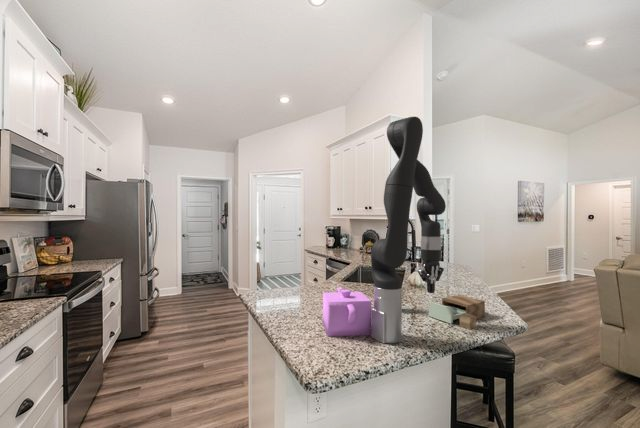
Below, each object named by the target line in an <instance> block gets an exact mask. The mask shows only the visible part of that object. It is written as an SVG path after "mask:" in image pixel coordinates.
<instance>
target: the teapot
mask: <svg viewBox="0 0 640 428" xmlns="http://www.w3.org/2000/svg"><path fill="white" fill-rule="evenodd" d="M371 311H372V300H370V299H369V298H368V297H367V296H366V295H365V294H364V293H363V292H362V291H351V290H350V289H343V288H342V287H341V286H338V287H337V292H336V291H335V292H333V291H331V292H323V293H322V325H323V327H324V330H325V333H326V335H327V337H344V336H345V337H347V336H350V337H351V336H367V335H368V336H370V335H371Z"/></svg>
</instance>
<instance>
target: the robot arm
mask: <svg viewBox="0 0 640 428" xmlns="http://www.w3.org/2000/svg"><path fill="white" fill-rule="evenodd" d="M423 133H424V127H423V122H422V120H421V119H420V118H419V117H418V116H409V117H405V118H402V119H398V120H395V121H394V120H393V121H391V122H390V123H389V124H388V126H387V128H386V137H387V141H388V142H389V143H388V144H389V145H390V147H391V148H392V150H393V151H394V154H395V155H396V156H397V158H398V160H397V162H396V164H395V165H394V167H393V169H392V170H391V171H390V173H389V174H388V176H387V178H386V181H385V184H384V191H383V205H384V209H385V214H386V217H387V219H386V220H387V232H386V236H385V238H380V239H377V240H376V241H375V242H374V243H373V245H372V247H371V251H370V252H371V253H370V258H371V259H370V260H371V261H370V263H371V264H370V265H371V267H370V268H371V276H372V280H373V308H371V336H370V338H373V339H375V340H377V341H378V342H380V343H382V344H394V343H395V344H396V343H400V342H401V341H402V338H403V337H402V336H403V335H402V331H403V328H402V327H403V325H402V323H403V321H402V318H403V316H402V314H403V311H402V310H403V309H402V306H403V303H402V301H403V295H402V294H403V282H402V281H403V280H402V278H401V277H400V276H399V275H398V273H397V270H396V269H398V268H401V266H403V265H404V264H405V262H406V259H407V254H408V236H409V235H408V231H409V220H410V214H411V213H410V210H411V203H412V200H413V198H412V197H413V190H414V192H415V194H416V196H418V197H420V198H419V199H418V201H417V203H416V212H417V215H418V218H419V222H420V228H421V232H420V234H421V235H420V238H421V239H420V260H422V261H421V262H422V263H421V267H420V269H419V268H418V269H417V274H418V275H419V277H420V278H421V280H422V282H425V283H426V292H427V293H429V294H435V291H436V287H435V286H436V283H437V282H439V281H440V279H441V277H442V275H443V272H444V270H445V269H444V267H442V266H441V264H440V262H441V261H442V239H441V234H442V233H441V232H442V231H441V223H440V222H438V221H437V220H432V219H431V217H430V216H439V215H442V214H444V213H445V211H446V207H447V206H446V201H445V199H444V198H443V196H442V195H441V193H440V192H439V190H438V189H437V188H436V187H435V185H434V182H433V179H432V177H431V174H430V172H429V170H428V168H427V167H426V166H425V165H424V164H423V163H422V162H421V161H419V160H418V157H419V152H420V149H421V145H422V141H423Z"/></svg>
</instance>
